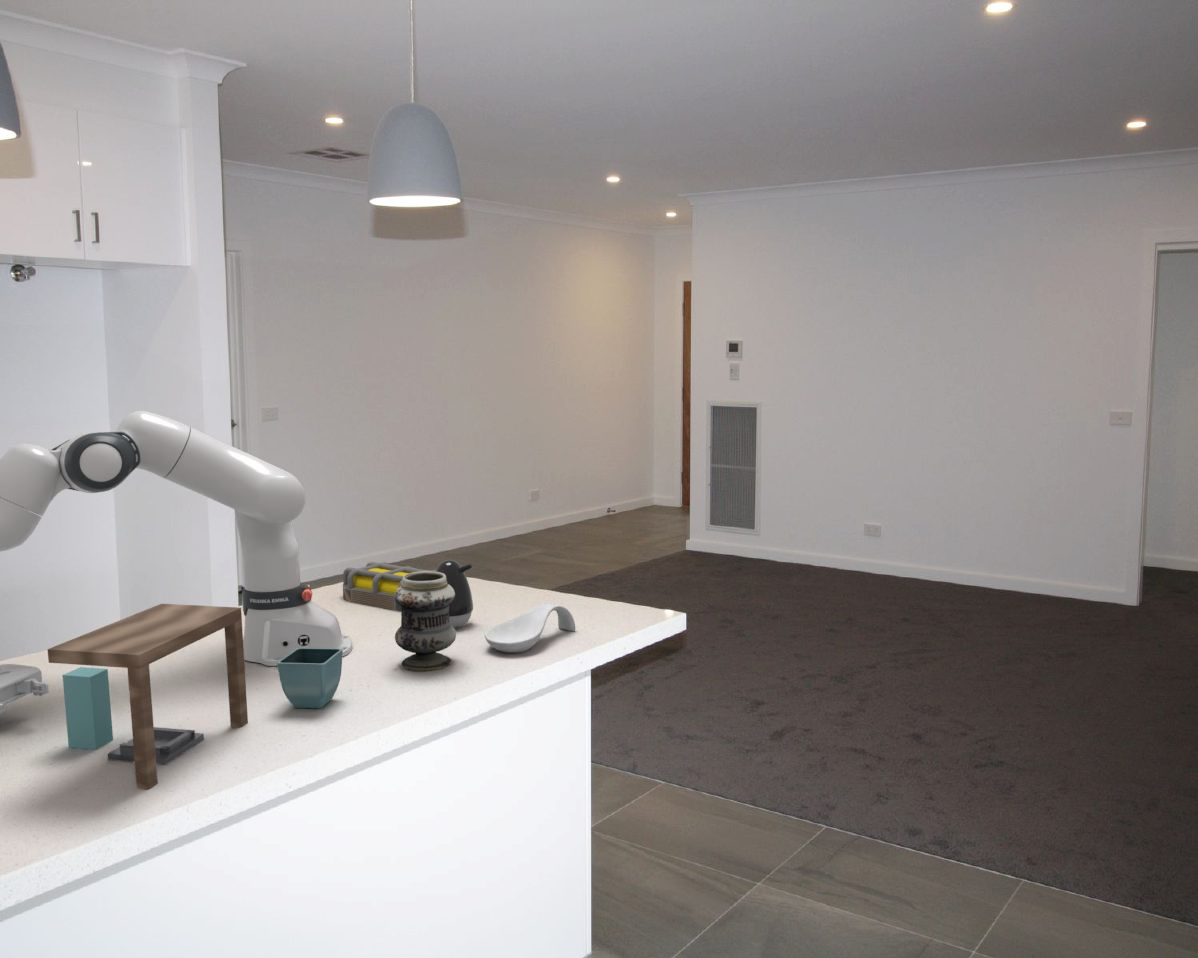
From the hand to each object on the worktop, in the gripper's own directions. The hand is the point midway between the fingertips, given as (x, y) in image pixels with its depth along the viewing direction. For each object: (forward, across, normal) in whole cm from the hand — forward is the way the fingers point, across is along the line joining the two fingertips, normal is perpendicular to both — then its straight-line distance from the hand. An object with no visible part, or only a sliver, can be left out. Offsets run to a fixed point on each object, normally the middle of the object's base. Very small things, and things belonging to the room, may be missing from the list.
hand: (23, 699), depth 163 cm
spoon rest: (+67, +67, +7) cm, 95 cm away
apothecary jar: (+50, +48, +7) cm, 70 cm away
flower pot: (+38, +23, +7) cm, 46 cm away
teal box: (+12, 0, +7) cm, 14 cm away
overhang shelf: (+24, 0, +7) cm, 25 cm away
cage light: (+23, +94, +7) cm, 98 cm away
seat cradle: (+24, 0, +7) cm, 25 cm away
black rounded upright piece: (+45, +75, +7) cm, 88 cm away
